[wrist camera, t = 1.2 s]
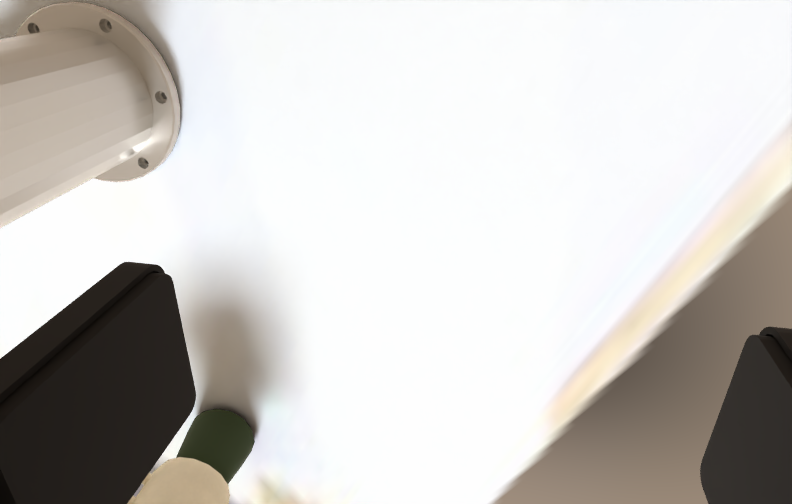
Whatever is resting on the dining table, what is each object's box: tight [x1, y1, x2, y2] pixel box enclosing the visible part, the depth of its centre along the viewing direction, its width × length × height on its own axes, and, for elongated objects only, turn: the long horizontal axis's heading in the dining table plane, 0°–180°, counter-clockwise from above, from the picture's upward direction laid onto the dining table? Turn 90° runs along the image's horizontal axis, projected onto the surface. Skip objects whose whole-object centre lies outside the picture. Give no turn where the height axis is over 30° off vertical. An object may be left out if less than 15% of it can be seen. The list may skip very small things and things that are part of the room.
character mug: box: [127, 409, 254, 504], centre depth 50 cm, size 11×7×13 cm, turn 57°
